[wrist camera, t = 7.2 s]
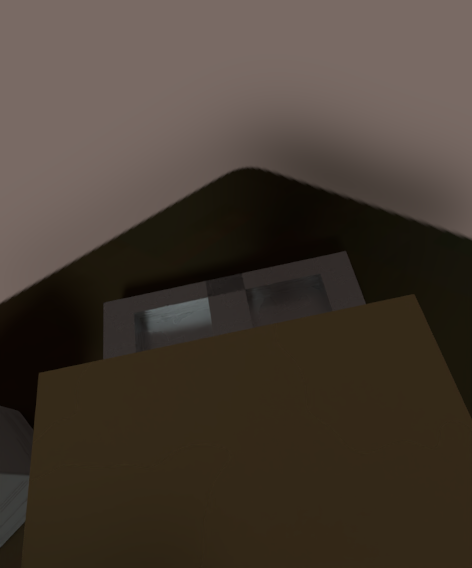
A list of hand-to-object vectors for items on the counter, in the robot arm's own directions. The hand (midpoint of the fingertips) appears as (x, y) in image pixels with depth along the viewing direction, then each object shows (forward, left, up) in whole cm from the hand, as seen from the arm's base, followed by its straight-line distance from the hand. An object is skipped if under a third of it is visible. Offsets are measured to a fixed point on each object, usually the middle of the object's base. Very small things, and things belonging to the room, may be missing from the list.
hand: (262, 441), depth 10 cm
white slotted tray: (-6, +8, -18) cm, 21 cm away
